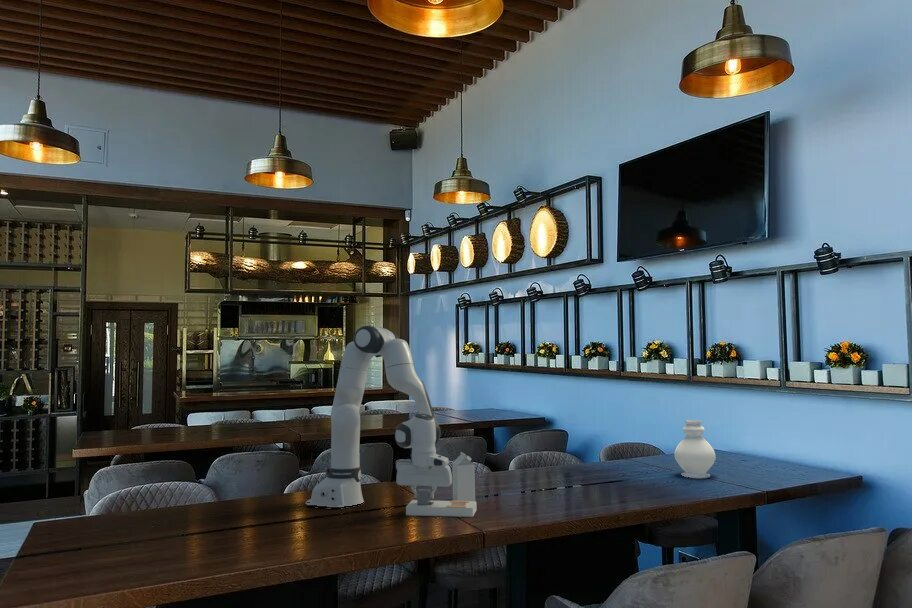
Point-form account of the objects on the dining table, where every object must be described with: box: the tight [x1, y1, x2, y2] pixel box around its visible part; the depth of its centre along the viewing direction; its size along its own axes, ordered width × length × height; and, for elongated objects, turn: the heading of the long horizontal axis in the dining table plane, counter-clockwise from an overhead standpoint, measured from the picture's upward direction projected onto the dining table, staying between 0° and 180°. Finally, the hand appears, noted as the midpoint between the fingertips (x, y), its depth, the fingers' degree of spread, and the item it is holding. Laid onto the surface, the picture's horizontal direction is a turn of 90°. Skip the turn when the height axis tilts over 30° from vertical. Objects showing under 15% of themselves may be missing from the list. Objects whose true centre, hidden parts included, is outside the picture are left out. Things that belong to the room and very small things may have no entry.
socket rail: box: [405, 499, 478, 518], centre depth 238 cm, size 24×10×4 cm, turn 81°
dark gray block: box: [416, 488, 432, 505], centre depth 239 cm, size 4×4×7 cm
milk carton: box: [451, 451, 476, 501], centre depth 258 cm, size 7×7×19 cm
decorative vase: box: [673, 419, 717, 479], centre depth 304 cm, size 18×18×25 cm
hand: (424, 498), depth 239 cm, fingers closed on dark gray block, 4 cm apart
